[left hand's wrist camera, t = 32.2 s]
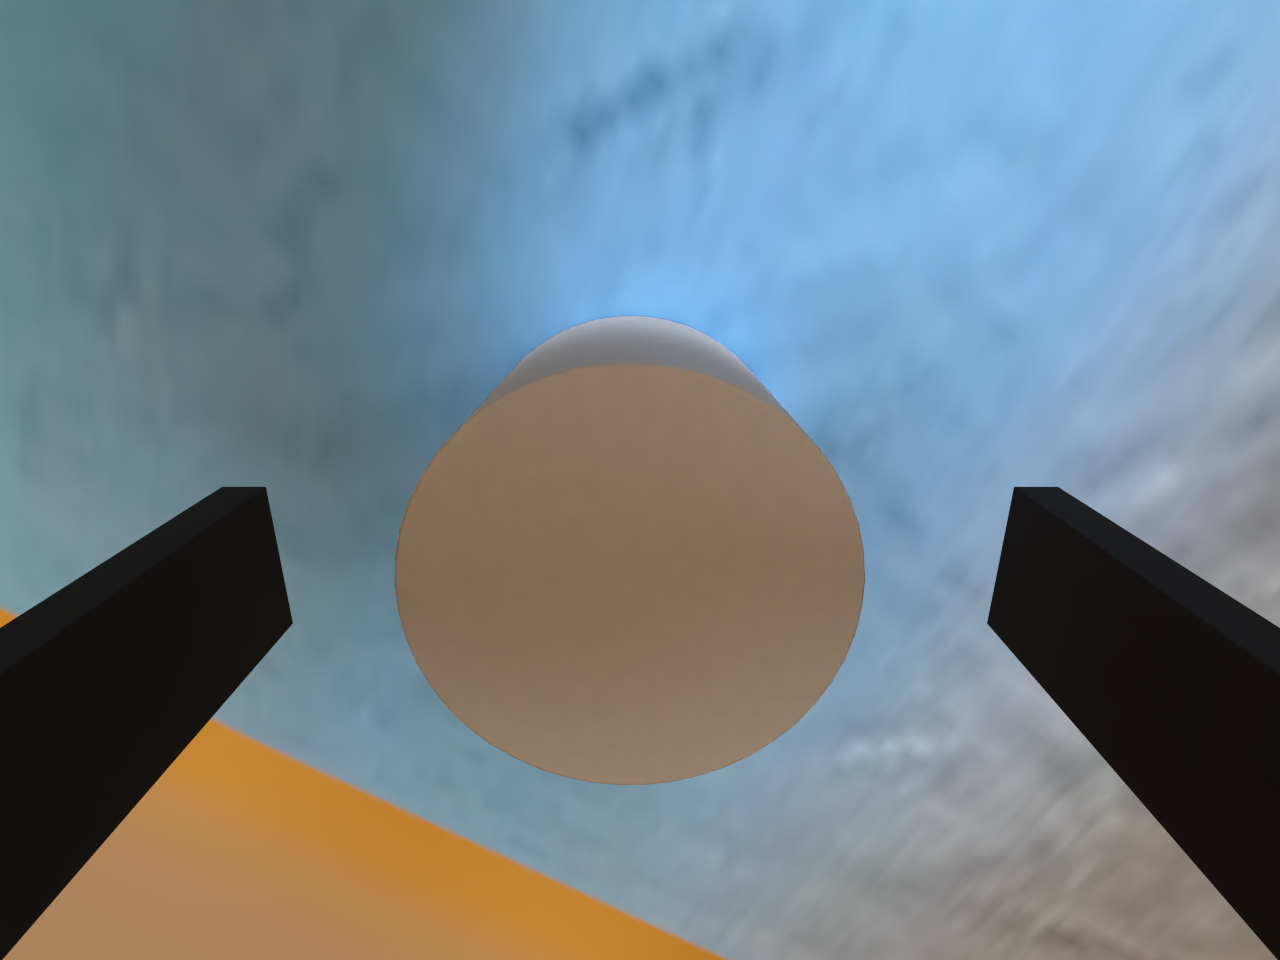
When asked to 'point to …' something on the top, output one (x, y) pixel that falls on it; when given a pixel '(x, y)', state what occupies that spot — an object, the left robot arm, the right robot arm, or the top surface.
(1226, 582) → the top surface
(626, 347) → the can
